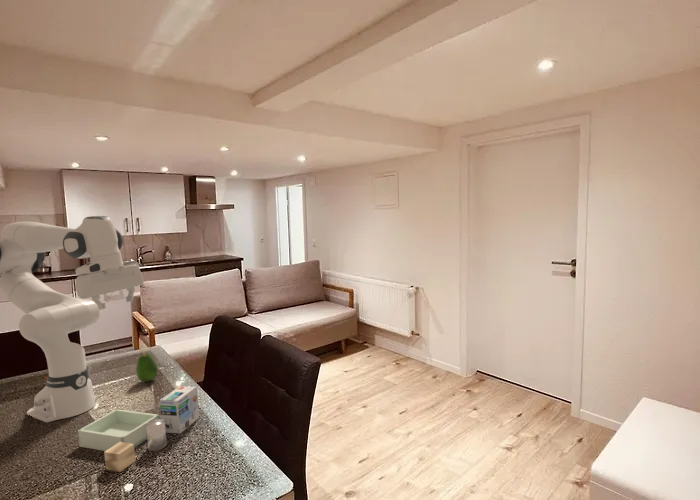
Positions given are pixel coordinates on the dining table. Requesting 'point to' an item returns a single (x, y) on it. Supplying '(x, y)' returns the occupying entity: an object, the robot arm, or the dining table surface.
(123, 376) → the dining table surface
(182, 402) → the light bulb box
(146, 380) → the avocado
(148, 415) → the tote
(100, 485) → the dining table surface
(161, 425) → the cylinder
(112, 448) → the cube
